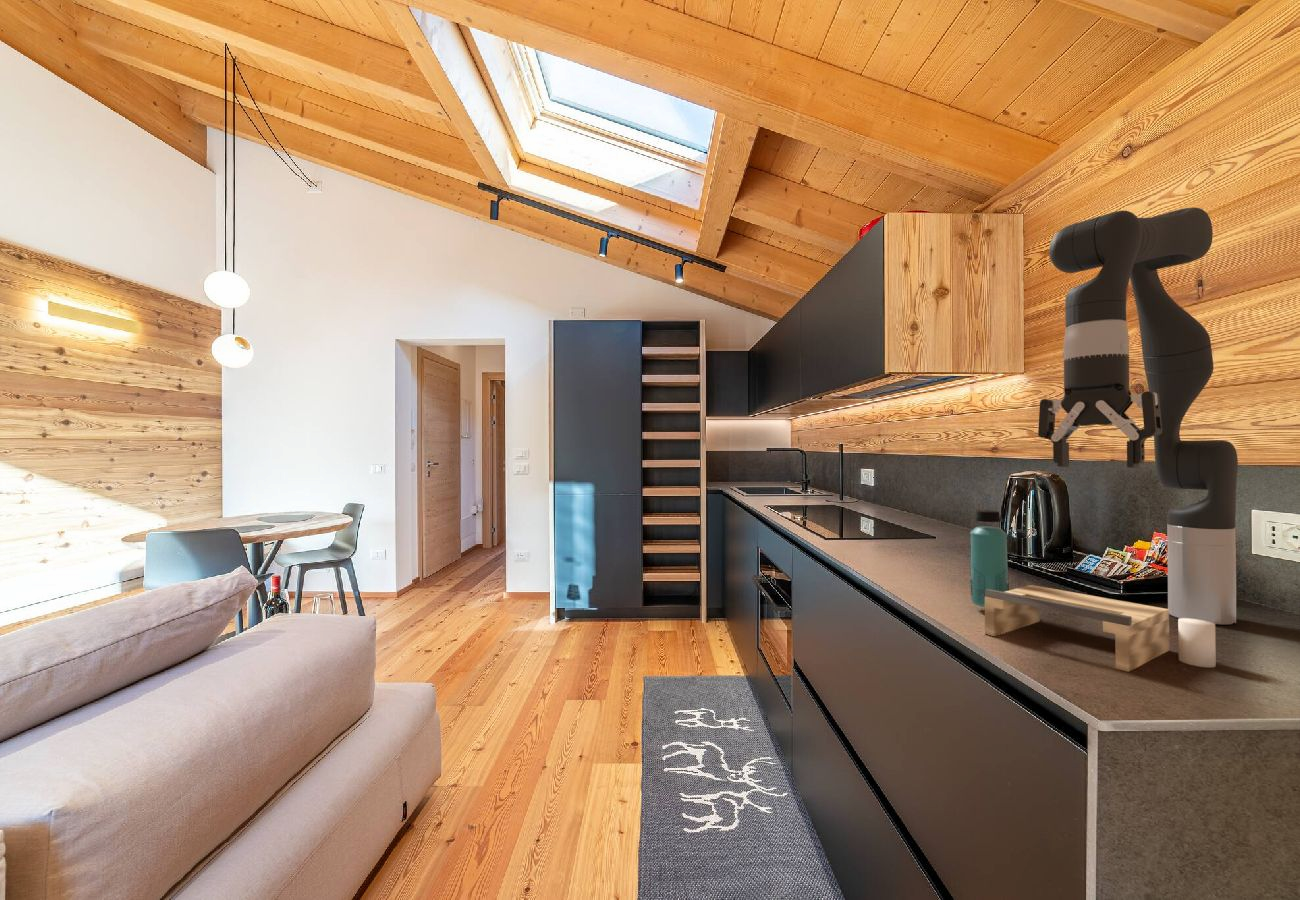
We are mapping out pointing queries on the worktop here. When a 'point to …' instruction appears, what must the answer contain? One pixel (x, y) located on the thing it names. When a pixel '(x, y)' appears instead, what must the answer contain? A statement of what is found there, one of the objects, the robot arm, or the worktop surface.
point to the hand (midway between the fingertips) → (1096, 467)
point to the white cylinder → (1196, 642)
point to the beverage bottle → (988, 558)
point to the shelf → (1132, 623)
